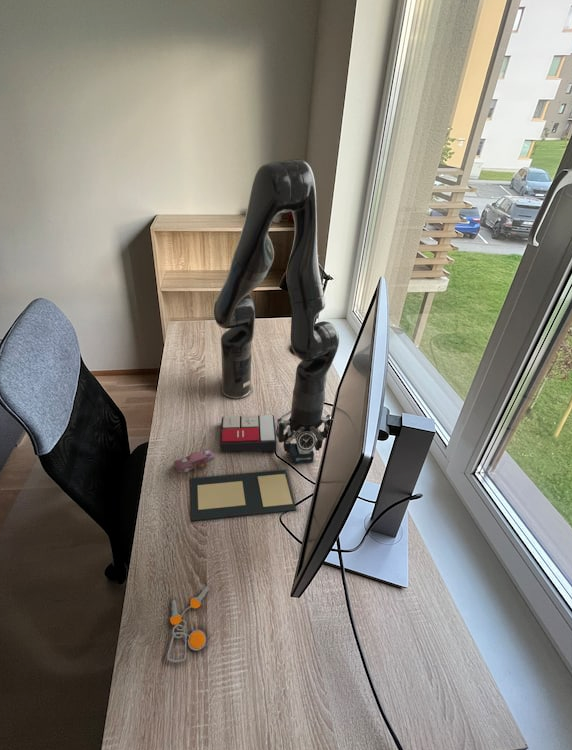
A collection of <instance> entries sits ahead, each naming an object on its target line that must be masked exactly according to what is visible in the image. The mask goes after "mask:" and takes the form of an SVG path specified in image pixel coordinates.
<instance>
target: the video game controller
mask: <svg viewBox="0 0 572 750" xmlns="http://www.w3.org/2000/svg"><path fill="white" fill-rule="evenodd" d="M213 460H215V455H214V453H213V452H212V451H211V450H210V449H204V450H201V451H194V452H192V453H190V454H189V455H187V456H184V457H182V458H181V459H179V460H178V459H176V460H174V462H173V465H174V468H175V469H176V471H178V472H180V473H181V472H184V473H188V472H191V471H193V470H194V469H195V465H197V468H203V467H204V466H205V465H207V464H208V463H210V462H212V461H213Z"/></svg>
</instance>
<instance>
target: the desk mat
mask: <svg viewBox="0 0 572 750" xmlns="http://www.w3.org/2000/svg"><path fill="white" fill-rule="evenodd" d="M190 484H191V485H190V486H191V489H190V490H191V491H190V493H191V494H190V495H191V522H199V521H209V520H218V519H227V518H239V517H247V516H259V515H265V514H266V515H267V514H276V513H285V512H295V511H297V507H296V504H295V499H294V496H293V492H292V488H291V485H290V481H289V477H288V474H287V469H278V470H265V471H257V472H245V473H235V474H233V473H232V474H223V475H214V476H213V475H212V476H204V477H203V476H202V477H191V479H190Z"/></svg>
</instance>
